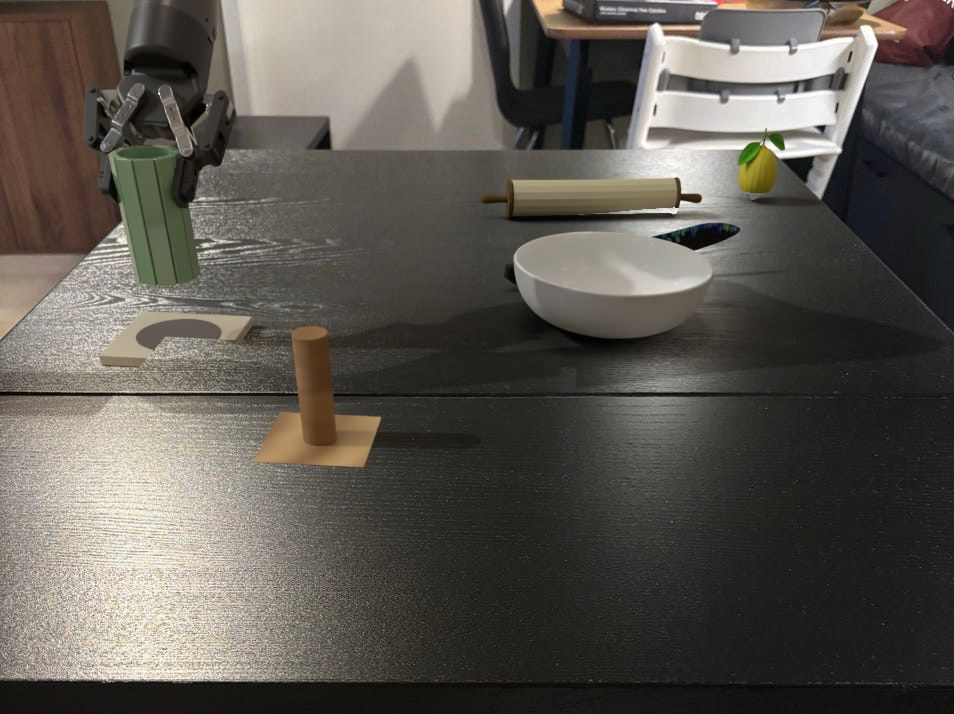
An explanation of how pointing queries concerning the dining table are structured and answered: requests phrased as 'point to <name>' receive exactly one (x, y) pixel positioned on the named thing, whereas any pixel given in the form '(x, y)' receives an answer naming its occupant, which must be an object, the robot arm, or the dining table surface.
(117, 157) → the ceramic tube
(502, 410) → the dining table surface
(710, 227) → the knife
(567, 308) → the serving bowl
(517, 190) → the rolling pin
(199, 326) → the plate
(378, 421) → the peg stand
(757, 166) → the lemon
